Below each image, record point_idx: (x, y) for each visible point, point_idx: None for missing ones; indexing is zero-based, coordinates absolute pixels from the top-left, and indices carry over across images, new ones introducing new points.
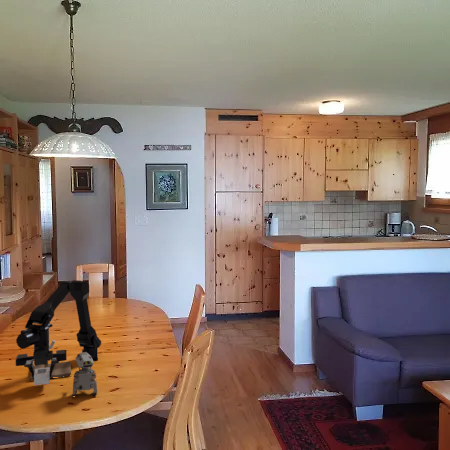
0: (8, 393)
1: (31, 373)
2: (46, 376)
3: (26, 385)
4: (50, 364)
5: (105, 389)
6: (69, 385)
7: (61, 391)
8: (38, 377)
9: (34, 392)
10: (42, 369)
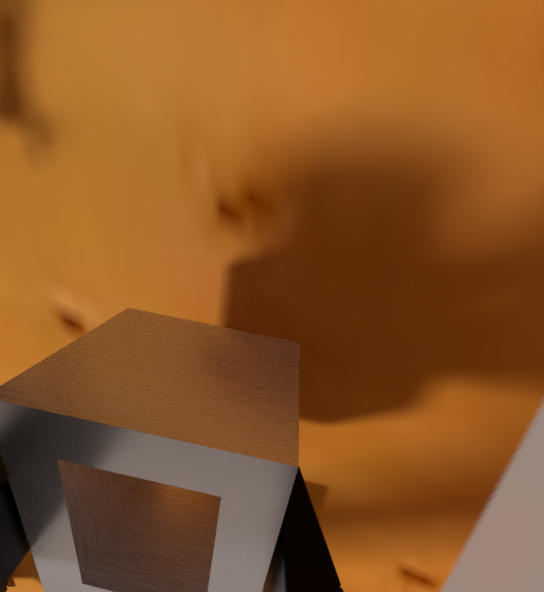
0: (512, 389)
1: (326, 561)
2: (86, 372)
3: (336, 450)
4: None
5: None
6: (7, 284)
7: (56, 184)
8: (221, 402)
9: (300, 294)
10: (145, 586)
